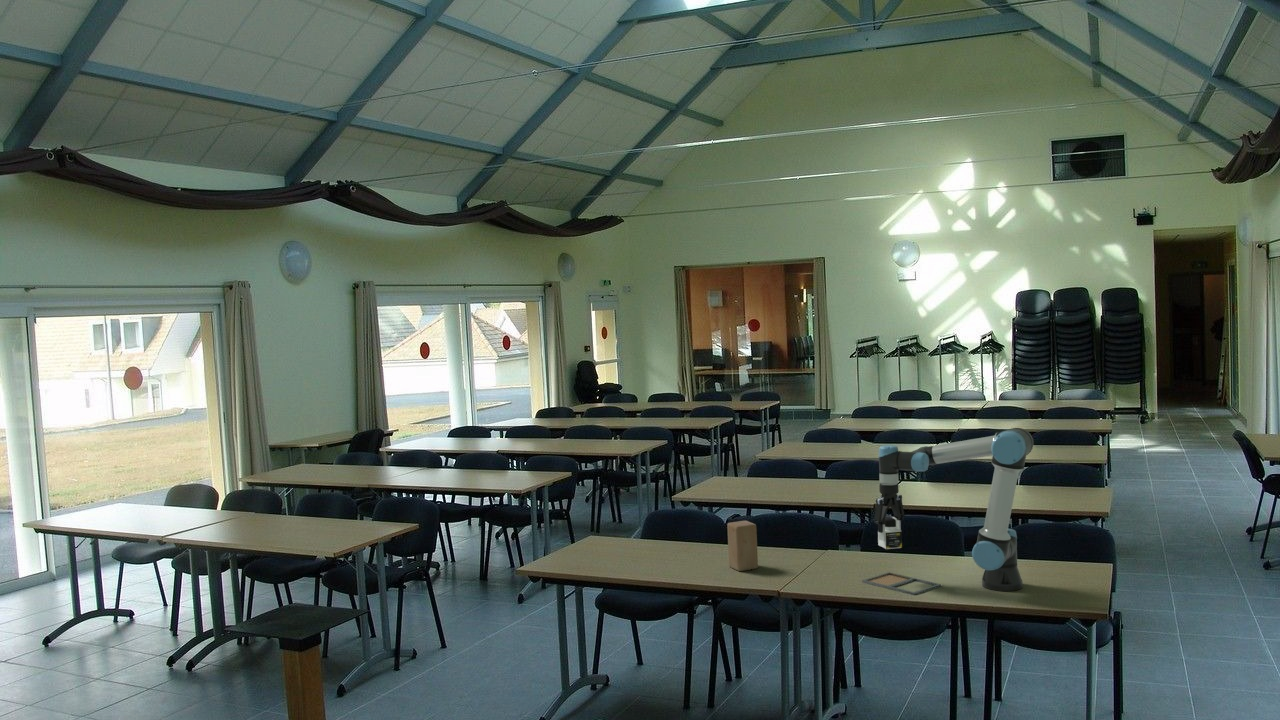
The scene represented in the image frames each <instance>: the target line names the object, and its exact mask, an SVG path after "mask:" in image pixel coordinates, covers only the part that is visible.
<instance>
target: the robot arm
mask: <svg viewBox="0 0 1280 720" xmlns="http://www.w3.org/2000/svg"><path fill="white" fill-rule="evenodd" d="M1033 448H1034V438H1033V436H1032V434H1031V433H1030V432H1029V431H1027V430H1026V429H1024V428H1022V427H1021V428H1020V427H1011V428H1010V429H1006V430H1004V431H1003V430H1002V431H999V432H995V434H994V435H990V436H985V437H983V436H982V437H979V438H978V437H977V438H971V439H967V440H966V439H965V440H962V441H961V440H959V441H954V442H948V443H943V444H936V445H930V446H928V445H927V446H926V445H924V446H921V447H919V448H917V449H915V450H912V451H901V450H899V448H898V446H897V445H893V444H883V445H881V446H880V447H879V449H878V468H879V475H878V476H879V479H878V480H879V488H878V489H879V493H880V495H881V497H880V498H875V499H876V500H875V505H876V506H875V511H874V519H873V523H874V524H876V525H877V533H878V532H879V540H882V541H885V525H884V520H885V517H887V513H888V510H889V509H891V512H892V513H893V517H895V518H896V519H897V529H899V530H901V531H902V529H901V528H902V522H903V521H904V519H905V512H904V505H903V495H902V494H898V493H899V492H900V491H899V471H909V472H916V473H917V472H918V473H919V472H926V471H928V468H929V466H932V465H933V466H934V465H938V464H945V463H946V464H947V463H951V462H952V463H953V462H958V461H966V460H971V459H973V460H974V459H979V458H985V457H991V456H992V457H991V464H992V466H993V467H994V471H993V476H992V481H991V486H990V491H989V498H988V503H987V509H986V514H985V519H984V523H983V524H984V525H983V527H982V528H979V530H978V533H977V534H978V535H977V540H976V543H975V544H974V545H973V548H972V551H971V557H972V560H973V561H974V562H975V564H976V565H977V566H978V567H979V568H980V569H983V571H984V572H983V574H982V578H981V585H982V587H984V588H985V589H988V590H991V591H992V590H993V591H1000V592H1013V591H1018V590H1021V589H1022V588H1023V586H1024V584H1023V579H1022V576H1021V574H1020V570H1019V567H1018V549H1017V548H1018V541H1017V540H1018V536H1017V531H1016V530H1015V529H1012V528H1009V525H1010V520H1011V515H1012V511H1013V510H1012V508H1013V505H1014V504H1013V503H1014V498H1015V494H1016V488H1017V482H1018V478H1019V473H1020V472H1022V471H1024V469H1025V463H1026V458H1027V456H1028V455H1029V454H1030V453H1031V452H1032V451H1033Z"/></svg>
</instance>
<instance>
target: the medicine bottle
mask: <svg viewBox="0 0 1280 720" xmlns="http://www.w3.org/2000/svg"><path fill="white" fill-rule="evenodd" d="M884 525H885V541H882V540H879V532H878V531H877V543H878V544H877V545H878V546H879V547H880V548H881V547H882V548H883V549H885V550H891V549H892V550H893V549H894V550H895V549H901V548H903V539H902V538H903V535H902V534H903V533H902V529H901V530H899V529H897V519H896V518H895V516H886V517H885V520H884Z"/></svg>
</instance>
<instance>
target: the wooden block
mask: <svg viewBox="0 0 1280 720" xmlns="http://www.w3.org/2000/svg"><path fill="white" fill-rule="evenodd" d="M757 531H758V530H757V525H756V523H753V522H751V521H749V520H739V521H733V522H728V523H727V548H728V550H727V551H728V553H727V554H728V567H729V568H731V569H734V570H735V571H738V572H743V571H751V569H752V570H756V569H758V568H759V561H758V559H759V558H758V557H759V556H758V535H757Z"/></svg>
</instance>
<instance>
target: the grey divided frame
mask: <svg viewBox="0 0 1280 720" xmlns="http://www.w3.org/2000/svg"><path fill="white" fill-rule="evenodd" d="M861 582H862V583H863V584H868V585H872V586H877V587H880V588H884V589H887V590H893V591H896V592H901V593H904V594H909V595H911V596H916V595H919V594H921V593H925V592H928V591H931V590H934V589H937V588H940V587H942V584H941V583H937V582H933V581H930V580H929V581H928V580H924V579H921V578H915V577H912V576H908V575H907V576H906V575H904V574H903V575H902V574H898V573H896V572H895V573H894V572H890V571H889V572H885V573H881V574H878V575H875V576H871V577H869V578H866V579H865V578H864V579H862V580H861ZM912 582H917V583H922V584H926V585H931V586H928V587H925V588H922V589H920V590H915V591H911V590H906V589H904V588H903V589H902V588H899V586H902V585H906V584H909V583H912Z"/></svg>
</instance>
